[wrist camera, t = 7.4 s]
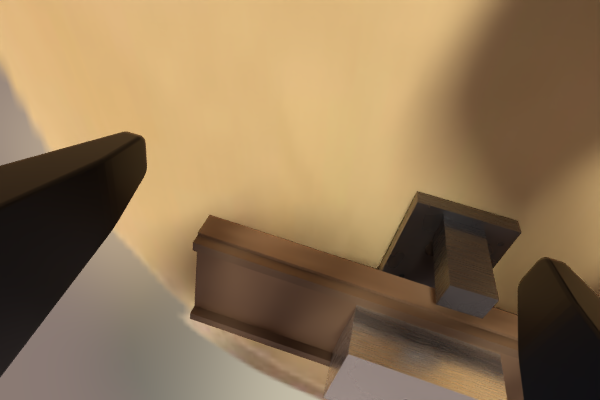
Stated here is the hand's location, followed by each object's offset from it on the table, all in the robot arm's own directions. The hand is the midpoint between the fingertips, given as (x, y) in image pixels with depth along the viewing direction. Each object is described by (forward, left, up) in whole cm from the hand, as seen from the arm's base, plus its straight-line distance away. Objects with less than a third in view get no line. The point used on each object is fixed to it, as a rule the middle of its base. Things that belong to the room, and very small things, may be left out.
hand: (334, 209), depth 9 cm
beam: (+3, +16, -8) cm, 18 cm away
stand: (+3, +16, -13) cm, 21 cm away
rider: (+4, +16, -7) cm, 18 cm away
